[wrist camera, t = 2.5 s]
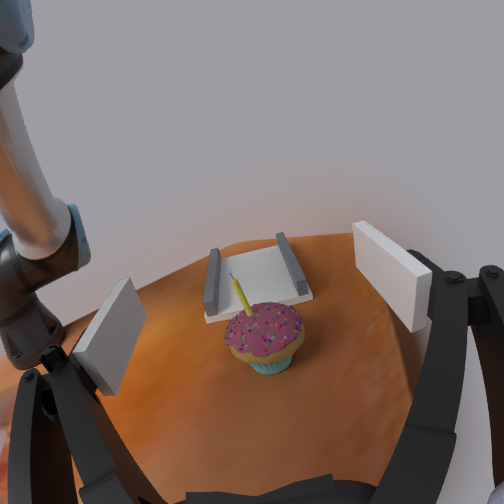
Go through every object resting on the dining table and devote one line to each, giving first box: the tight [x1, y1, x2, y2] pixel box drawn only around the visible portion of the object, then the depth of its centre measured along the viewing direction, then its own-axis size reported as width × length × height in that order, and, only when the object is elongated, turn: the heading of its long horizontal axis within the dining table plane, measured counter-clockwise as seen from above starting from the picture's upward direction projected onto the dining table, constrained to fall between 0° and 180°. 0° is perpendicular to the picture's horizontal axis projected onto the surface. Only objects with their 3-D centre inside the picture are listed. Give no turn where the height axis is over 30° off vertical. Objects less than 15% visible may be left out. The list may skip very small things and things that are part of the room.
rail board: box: [203, 232, 313, 324], centre depth 49 cm, size 20×16×4 cm
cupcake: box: [224, 273, 305, 375], centre depth 29 cm, size 9×8×12 cm
